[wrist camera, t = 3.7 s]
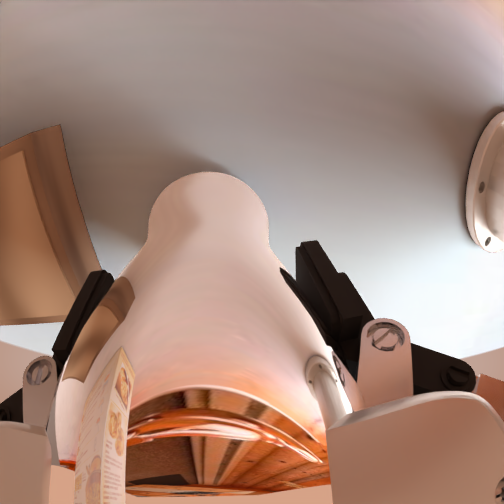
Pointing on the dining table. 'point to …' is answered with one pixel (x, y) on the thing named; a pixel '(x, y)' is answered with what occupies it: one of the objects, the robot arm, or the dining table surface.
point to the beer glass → (199, 369)
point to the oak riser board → (40, 231)
